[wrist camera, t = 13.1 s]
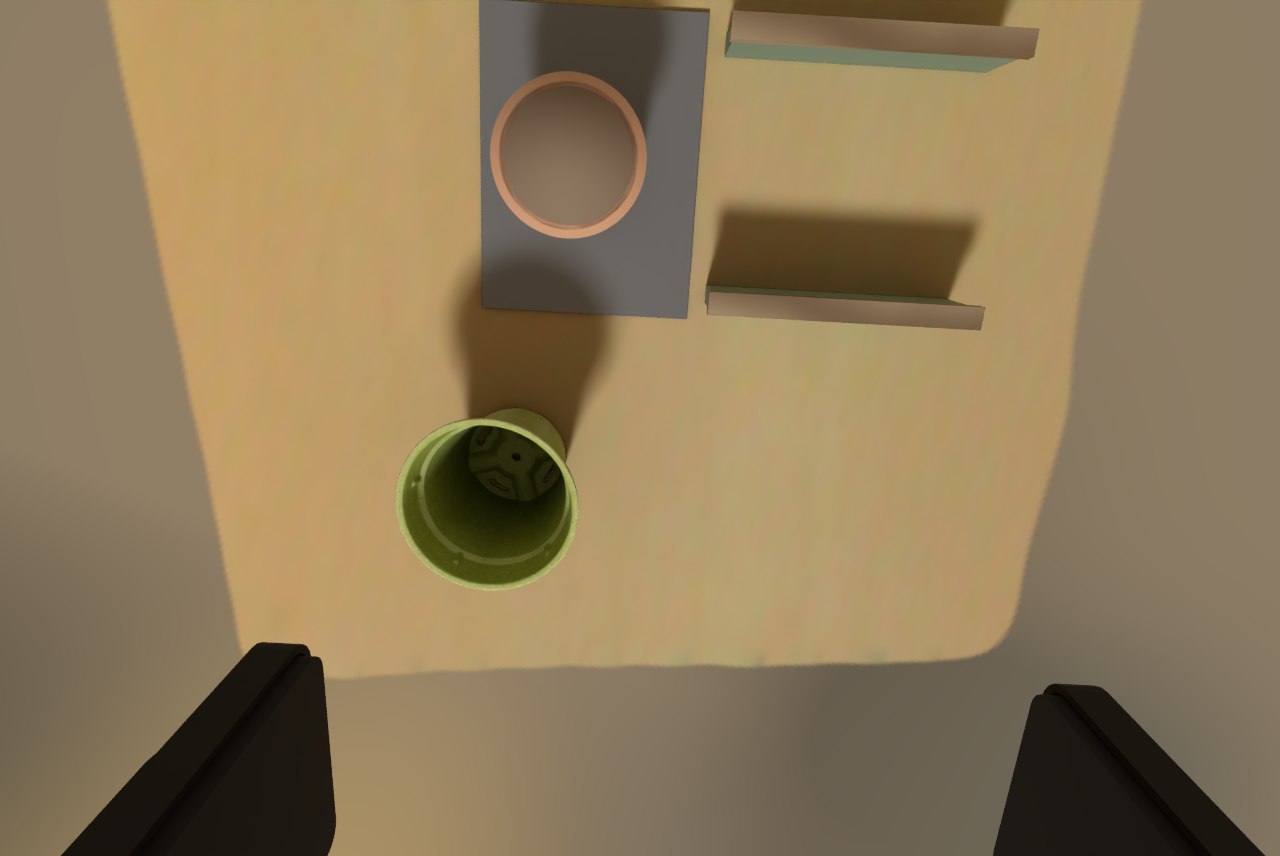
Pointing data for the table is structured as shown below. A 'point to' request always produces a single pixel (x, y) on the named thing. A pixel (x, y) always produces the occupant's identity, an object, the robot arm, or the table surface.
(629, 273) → the mat
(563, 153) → the seedling pot
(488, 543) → the plant pot
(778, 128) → the table surface
